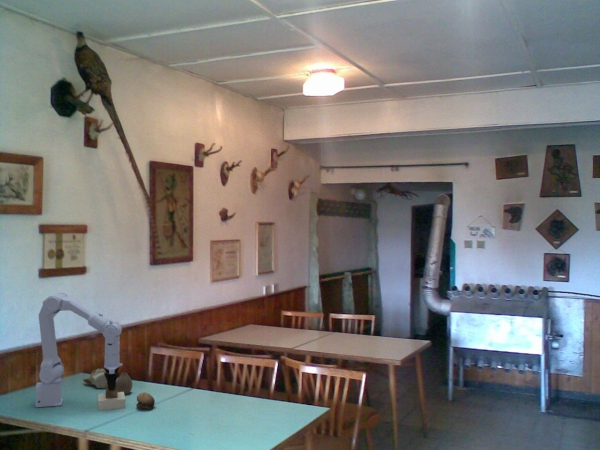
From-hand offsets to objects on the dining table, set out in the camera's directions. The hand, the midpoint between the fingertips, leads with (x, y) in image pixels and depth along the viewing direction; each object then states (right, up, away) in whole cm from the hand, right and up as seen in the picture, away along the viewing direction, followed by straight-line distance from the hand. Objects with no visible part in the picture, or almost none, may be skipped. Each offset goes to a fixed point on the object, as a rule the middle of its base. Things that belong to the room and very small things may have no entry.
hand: (111, 387), depth 233 cm
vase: (0, -7, +16) cm, 17 cm away
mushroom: (+14, -8, -3) cm, 17 cm away
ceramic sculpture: (-14, -7, +27) cm, 31 cm away
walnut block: (0, -4, 0) cm, 4 cm away
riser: (0, -8, 0) cm, 8 cm away
